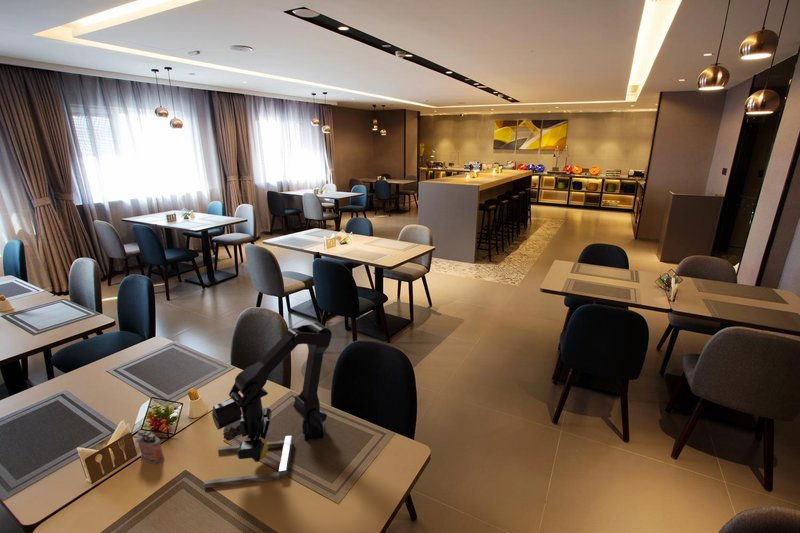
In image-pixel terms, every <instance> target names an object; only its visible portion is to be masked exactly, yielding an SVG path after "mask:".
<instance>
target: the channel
mask: <svg viewBox="0 0 800 533" xmlns="http://www.w3.org/2000/svg"><path fill="white" fill-rule="evenodd" d="M284 437H285V438H284V439H283V440H273V441H266V442H267V445H268V449H273V448H275V449H276V448H281V447H282V452H281V457H280V462H279V467H278V468H279V469H278V471H276V472H267V473H260V474H259V473H257V474H250V475H248V474H247V475H242V476H241V475H240V476H233V477H225V478H224V477H223V478H216V479H215V478H214V479H207V480H204V482H203V486H204V489H207V488H208V489H209V488H215V487H223V486H224V487H225V486H226V487H227V486H232V485H240V484H251V483H258V482H259V483H260V482H265V481H275V480H276V481H277V480H284V479H287V478H288V473H289V467H290V461H291V456H292V455H291V454H292V447H293V435H286V436H284ZM239 446H240V444H235V445H226V446H218V449H217V453H218V454H219V455H220V454H227V453H228V454H229V453H237V452H238V449H239Z"/></svg>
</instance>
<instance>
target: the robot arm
mask: <svg viewBox="0 0 800 533" xmlns="http://www.w3.org/2000/svg"><path fill="white" fill-rule="evenodd" d="M332 333H333V332H332V331H331V330H330V329H329V328H328V327H326V326H325V325H322V324H321V323H319V322H317V321H316V322H312V323H310V324H303V325H300V326H297V327H291V328H289V329H288V330H287V332H286V334H284V336H283V337H281V339H279V341H277V342H276V344H274V345H273V347H272V348H271V349H270V350H269V351H267V352H266V354H265V355H264V356H262V358H260V360H259V361H257V362H256V363H253V364H252V365H249V366H247V367H245V368H244V369H243V370H242V371H240V373H237V375H236V377H234V378H235V379H234V384H233V386H231V387H232V388H231V389H230V392H229V393H228V396H229V397H230V399H228V400H226V401H223V402H221V403H216V404H215V405H213V406H212V411H211V412H212V413H211V417H212V420H213V423H214V426H215V427H216V429H217V430H221V429H223V433H222V435H223V439H224V440H226V441H228V442H229V441H231V440H234V439H236V438H237V437H239V436H241V437H242V438H243V437H247V439H248V440H244V441H243V440H242V441H241V442H240V444H239V445H240V446H239V449H238V452H236V453H237V458H238V460H246V459H252V458H253V459H254V460H253V459H252V460H253V461H254V462H255V463H259V461H261V460H260V456H261V453H262V450H263V447H264V443H262V441H261V439H259V438H260V437H262V438H264V439H265V440H266V437H267V434H268V430H269V427H270V423H271V418H272V415H273V414H272V409H271V408H269V407H263V403H262V402H263V401H262V398H263V397H265V396H267V395H268V394H269V392H268V391H267V390H266V389H265V388H264V387H265V386H266V384H267V381H268V378H269V377H270V375H271V373H272V372H273V371H274V370H275V369H276V368H277V367H278V366H279V365H280V364H281V363H282V362H283V361H284V360H285V359H286V358H287V357H288V356H289V354H290V353H292V352H293V351H294V349H295V348H296V347H297V346H298V345H307V346H306V347H307V348H308V349H307V350H308V352H307V358H306V359H307V360H306V366H305V372H304V378H303V385H302V391H301V392H300V393H299V395H298V394H297V395H295V396H294V403H293V405H292V407H293V408H294V411H295V412H296V413H297V414H298V415H299V416H300V417H301V418H302V419H303V420H302V423H301V424H302V425H301V426H302V427H301V428H302V435H304V436H303V439H304V441H308V440H309V441H311V440H317V439H324V437H325V428H326V427H325V426H326V425H325V423H324V422H325V421H327V416H328V414H327V413H325V412H324V411H323V410H322V409H321V407H320V406H321V403H320V399H319V395H318V392H319V384H320V378H321V372H322V365H323V359H324V355H325V352H326V350H327V349H328V348H329V347H330V344H331V340H332V337H333V334H332ZM239 392H240V393H241V394H242V395H241V394H240V393H239ZM265 418H266V419H265Z"/></svg>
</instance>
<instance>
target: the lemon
mask: <svg viewBox="0 0 800 533" xmlns="http://www.w3.org/2000/svg"><path fill="white" fill-rule="evenodd" d="M259 439H261V441H262V443H264V447H263V450H262V453H261V456H260V460H259V461H261V460H263V459H264V458H266V456H267V454H268V451H269V450H268V449H269V448H268V445H267V442H268V441H266V438H265V439H264V438H262V437H260V438H259ZM251 459H252V460H253V461H254V459H253V458H251Z"/></svg>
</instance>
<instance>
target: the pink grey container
mask: <svg viewBox="0 0 800 533" xmlns="http://www.w3.org/2000/svg"><path fill="white" fill-rule="evenodd" d="M137 435H138V436H137V438H136V441H137V443H138V447H139V449H140V450H139V451H140V453H141V455H140V458H141V460H142V461H144V462H146V463H149V464H154V465H159V464H162V463H163V462H164V461H165V456H164V454H163V450H162V447H161V446H162V445H161V439H160V438H159V437H158V436H156V434H154V433H152V431H149V430H148V431H145V430H142V429H140V430H138V431H137Z"/></svg>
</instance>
